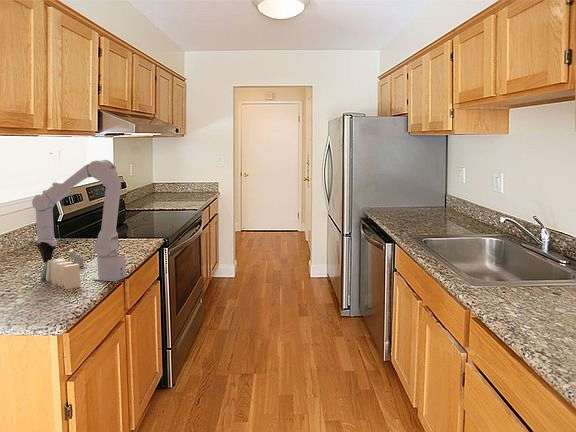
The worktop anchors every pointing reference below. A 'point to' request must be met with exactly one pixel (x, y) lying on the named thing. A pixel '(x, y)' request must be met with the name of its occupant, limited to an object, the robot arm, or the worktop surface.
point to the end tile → (44, 271)
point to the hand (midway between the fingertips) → (47, 262)
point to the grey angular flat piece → (76, 258)
